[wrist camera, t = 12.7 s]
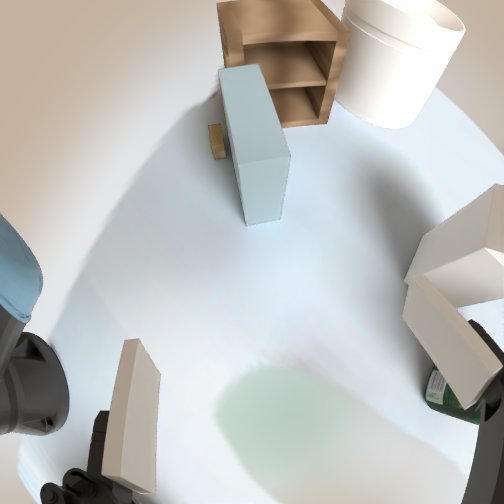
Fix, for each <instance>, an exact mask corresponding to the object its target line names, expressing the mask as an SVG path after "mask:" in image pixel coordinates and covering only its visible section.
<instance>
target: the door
mask: <svg viewBox="0 0 504 504" xmlns="http://www.w3.org/2000/svg"><path fill="white" fill-rule="evenodd" d="M218 74H219V80H220V86H221V93H222V99H223V106H224V112H225V118H226V124H227V131H228V137H229V143H230V148H231V153H232V158H233V163H234V168H235V173H236V178H237V183H238V188H239V193H240V198H241V203H242V208H243V213H244V218H245V222H246V226H249V225H254V224H260V223H265V222H270V221H276V220H280V219H281V213H282V207H283V201H284V196H285V190H286V184H287V178H288V172H289V166H290V160H291V154H290V151H289V148H288V145H287V142H286V139H285V136H284V133H283V130H282V127H281V124H280V121H279V119H278V116H277V113H276V110H275V107H274V104H273V102H272V99H271V96H270V93H269V91H268V88H267V85H266V83H265V80H264V77H263V75H262V72H261V70H260V67H259V65H258V64H252V65H245V66H237V67H231V68H225V69H219V70H218Z"/></svg>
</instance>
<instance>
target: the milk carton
mask: <svg viewBox="0 0 504 504" xmlns="http://www.w3.org/2000/svg"><path fill="white" fill-rule="evenodd" d="M421 273H422V274H423V275H424V276H425V277H426V278H427V279H428V280H429V281H430V282H431V283H432V284H433V285H434V286H435V287H436V288H437V289H438V290H439V291H440V292H441V293H442V295H443V296H444V297H445V298H446V299H447V300H448V301H449V302H450V303H451V304H452V305H453V306H454V307H455V308H458V307H463V306H469V305H474V304H478V303H483V302H488V301H492V300H497V299H501V298H504V186H503V185H499V184H494V185H493V186H492V187H491V188H489V189H488V190H487V191H485V192H484V193H483V194H481V195H480V196H479V197H477V198H476V199H475V200H473V201H472V202H471V203H469V204H468V205H466V206H465V207H464V208H462V209H461V210H459V211H458V212H457V213H455V214H454V215H452V216H451V217H450V218H448V219H447V220H445V221H444V222H442V223H441V224H439V225H438V226H437V227H435V228H434V229H432V230H431V231H429V232H428V233H426V234H425V235H423V237H422V239H421V241H420V244H419V246H418V249H417V251H416V254H415V256H414V258H413V261H412V263H411V265H410V268H409V270H408V272H407V274H406V277H405V279H404V282H405V283H406V284H408V285H409V282H410V277H412V276H415V275H418V274H421Z"/></svg>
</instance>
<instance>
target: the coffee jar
mask: <svg viewBox="0 0 504 504" xmlns="http://www.w3.org/2000/svg"><path fill="white" fill-rule="evenodd" d="M425 397H426V402H427V405H428V406H429V407H430V408H431V409H433V410H436V411H438V412H441V413H443V414H446V415H449V416H452V417H455V418H458V419H461V420H464V421H467V422H470V423H473V424H476V425H479V424H480V416H481V413H479V412H480V410H481V408H480V409H479V410H478V411H477V412H475V410H476V408H477V406H478V405H479V404H480V403H481V401H482V400H483V399H484V398H483V396H481V397H480V398H479V399H478V401H477V402H476V403H474V404H473V405H472V406H470V407H469V408H467V409H466V410H464V408H463V407H462V405H461V403H460V402H459V400H458V399H457V397H456V395H455V394H454V392H453V391H452V389H451V388H450V386H449V384H448V383H447V381H446V380H445V378H444V377H443V375H442V374H441V372H440V371H439V369H438V368H437V366H436V365H435V367H434V369H433V371H432V373H431V375H430V378H429V381H428V384H427V389H426V396H425Z"/></svg>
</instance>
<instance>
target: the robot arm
mask: <svg viewBox="0 0 504 504" xmlns="http://www.w3.org/2000/svg"><path fill="white" fill-rule="evenodd" d="M42 286H43V276H42V271H41V268H40V266H39V264H38V261H37V260H36V258H35V256H34V255H33V253H32V251H31V250H30V248H29V247H28V246H27V244H26V243H25V242H24V240H23V239H22V238H21V237H20V235H19V234H18V233H17V232H16V230H15V229H14V228H13V227H12V226H11V224H10V223H9V222H8V221H7V220H6V219H5V218H4V217H3V216H2V215H1V214H0V435H2V434H6V433H10V432H15V433H22V434H29V435H37V436H43V435H48V434H50V433H53V432H55V431H58V430H59V429H60V428H61V427H62V426H63V425H64V423H65V421H66V419H67V416H68V411H69V393H68V386H67V382H66V378H65V375H64V372H63V369H62V367H61V365H60V363H59V361H58V359H57V357H56V355H55V354H54V352H53V351H52V349H51V348H50V347H49V345H48V344H47V343H46V342H45V341H44V340H43V339H41V338H40V337H39V336H37V335H35V334H32V333H29V332H22V331H23V329H24V327H25V325H26V323H28V322H29V321H30V319H31V312H32V310H33V308H34V305H35V304H36V301H37V299H38V297H39V295H40V293H41V291H42ZM402 319H403V320H404V321H405V323H406V324H407V325H408V327H409V328H410V330H411V331H412V332H413V334H414V335H415V336H416V338H417V339H418V341H419V342H420V343H421V345H422V346H423V348H424V349H425V350H426V352H427V353H428V355H429V356H430V358H431V359H432V360H433V362H434V363H435V365H436V366H437V368H438V369H439V371H440V372H441V374H442V375H443V377H444V378H445V380H446V381H447V383H448V384H449V386H450V388H451V389H452V391H453V392H454V394H455V395H456V397H457V399H458V400H459V402H460V403H461V405H462V407H463V408H464V410H466V409H467V408H469V407H470V406H472V405H473V404H474V403H476V402H477V401H478V399H479V398H480V397H481V396H483V398H484V399H483V400H482V401H481V403H480V404H479V405H478V406H477V408H476V410H475V412H477V411H478V410H479V409H480V408H481V410H480V412H479V413H481V416H480V424H479V431H478V437H477V443H476V449H475V454H474V459H473V463H472V467H471V472H470V476H469V479H468V483H467V487H466V490H465V493H464V497H463V500H462V503H461V504H504V353H503V351H502V350H501V349H500V348H499V346H498V345H497V344H496V343H495V341H494V340H493V339H491V337H490V336H489V334H487V333H486V331H485V330H484V329H483V327H482V326H481V325H480V324H478V323H477V322H475V321H473V320H472V319H471V320H469V321H466V320H465V318H464V317H463V316H462V315H461V314H460V313H459V312H458V311H457V310H456V308H455V307H454V306H453V305H452V304H451V303H450V302H449V301H448V300H447V299H446V298H445V297H444V296H443V295H442V293H441V292H440V291H439V290H438V289H437V288H436V287H435V286H434V285H433V284H432V283H431V282H430V281H429V280H428V279H427V278H426V277H425V276H424V275H423V274H422V273H421V274H418V275H415V276H412V277H410V282H409V287H408V292H407V296H406V301H405V305H404V310H403V314H402ZM160 376H161V374H160V372H159V371H158V369H157V368H156V366H155V364H154V363H153V361H152V359H151V358H150V356H149V355H148V353H147V351H146V350H145V348H144V346H143V344H142V343H141V341H140V339H139V338H138V339H131V340H125V341H124V345H123V349H122V353H121V358H120V362H119V366H118V371H117V376H116V381H115V386H114V391H113V396H112V401H111V407H110V411H100V412H99V414H98V415H97V417H96V419H95V421H94V426H93V433H92V438H91V440H92V442H91V444H90V451H89V458H88V466H87V472H85V471H83V470H81V469H79V468H73V469H70V470H68V471H67V472H66V473H65V475H64V477H63V486H61V487H60V486H58V485H56V484H54V483H46V484H44V485H43V487H42V488H41V491H40V498H41V502H42V504H139V503H138V502H137V500H136V499H135V498H134V497H133V496H132V491H134V492H136V493H139V494H151V495H156V440H157V418H158V402H159V388H160Z"/></svg>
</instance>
